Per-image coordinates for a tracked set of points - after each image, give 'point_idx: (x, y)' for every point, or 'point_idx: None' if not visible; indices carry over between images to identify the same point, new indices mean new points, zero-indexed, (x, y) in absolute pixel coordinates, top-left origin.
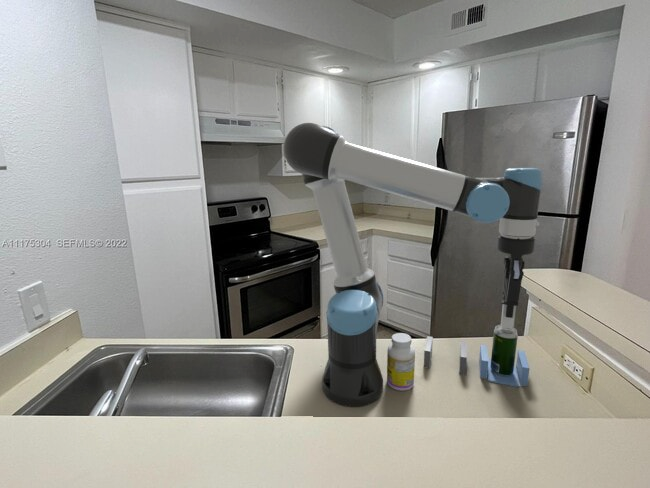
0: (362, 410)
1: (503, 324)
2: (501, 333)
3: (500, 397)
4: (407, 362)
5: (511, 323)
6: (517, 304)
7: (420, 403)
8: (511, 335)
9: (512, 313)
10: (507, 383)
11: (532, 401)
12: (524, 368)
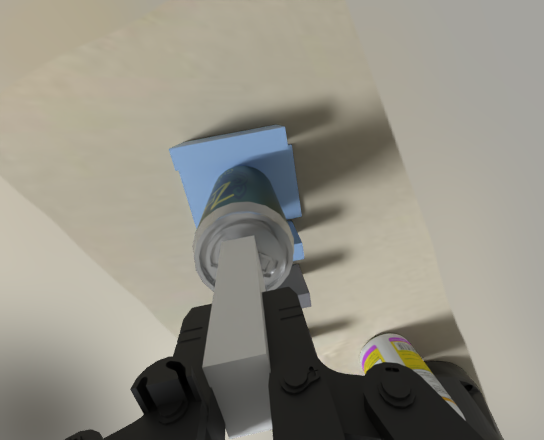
0: (470, 365)
1: (264, 288)
2: (289, 268)
3: (353, 181)
4: (449, 397)
5: (258, 262)
6: (425, 384)
7: (428, 306)
8: (283, 229)
9: (301, 312)
10: (294, 173)
11: (338, 108)
12: (285, 141)
